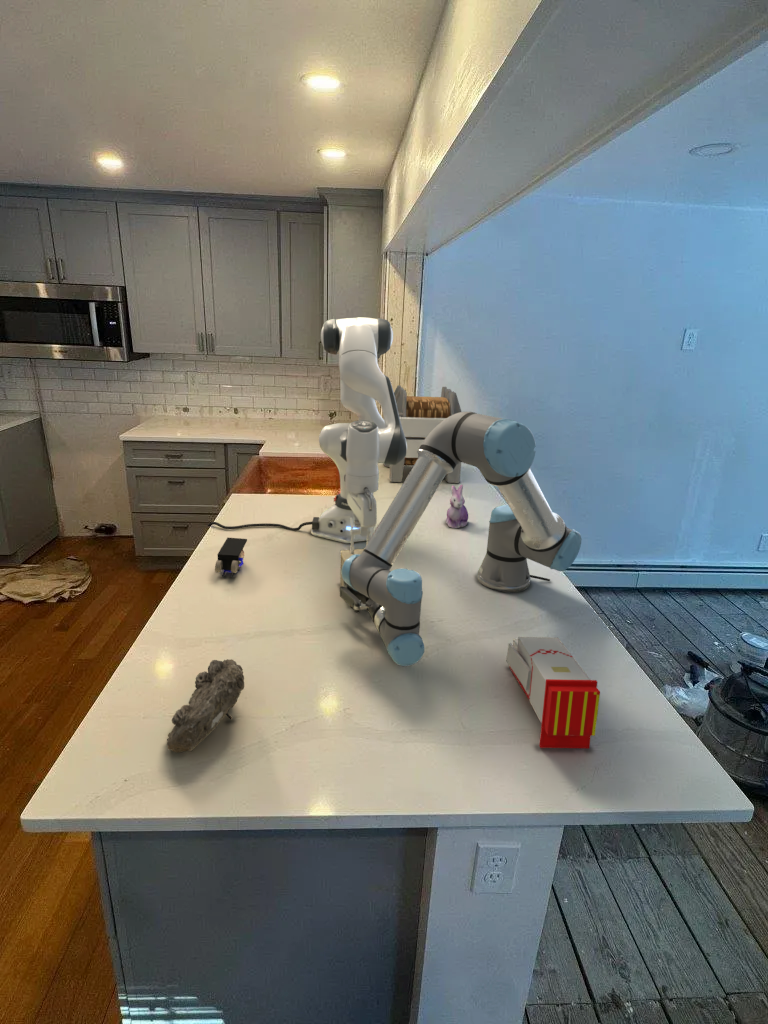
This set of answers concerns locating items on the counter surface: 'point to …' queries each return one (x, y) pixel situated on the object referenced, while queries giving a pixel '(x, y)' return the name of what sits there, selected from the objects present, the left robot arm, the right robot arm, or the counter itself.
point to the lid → (348, 553)
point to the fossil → (206, 705)
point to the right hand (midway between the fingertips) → (366, 575)
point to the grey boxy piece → (422, 425)
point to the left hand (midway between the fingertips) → (360, 530)
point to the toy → (555, 691)
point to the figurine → (457, 509)
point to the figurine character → (230, 556)
